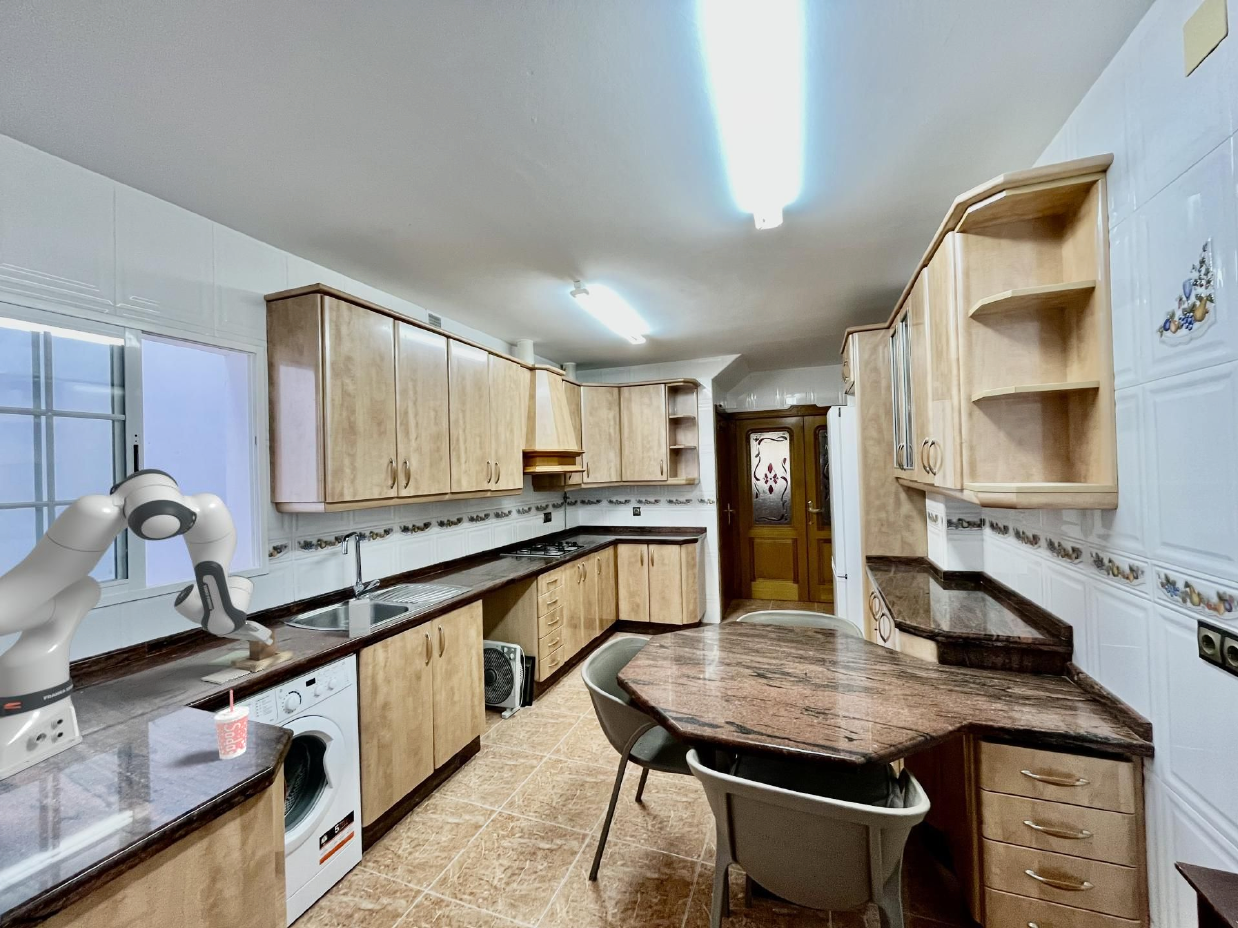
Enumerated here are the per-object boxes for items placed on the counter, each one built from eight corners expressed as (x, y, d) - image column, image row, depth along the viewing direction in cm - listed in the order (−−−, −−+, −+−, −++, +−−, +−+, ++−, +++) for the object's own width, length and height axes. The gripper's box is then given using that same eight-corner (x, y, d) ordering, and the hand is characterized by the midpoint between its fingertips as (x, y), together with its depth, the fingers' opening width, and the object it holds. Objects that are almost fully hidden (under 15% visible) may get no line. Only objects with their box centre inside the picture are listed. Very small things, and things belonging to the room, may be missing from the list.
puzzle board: (223, 685, 145) (223, 676, 145) (198, 680, 149) (198, 672, 149) (293, 658, 165) (292, 651, 165) (269, 655, 169) (269, 647, 169)
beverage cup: (209, 763, 104) (207, 698, 104) (223, 748, 110) (221, 686, 110) (242, 758, 106) (240, 693, 106) (255, 743, 112) (253, 682, 112)
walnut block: (259, 667, 158) (258, 633, 158) (249, 665, 160) (248, 632, 160) (275, 661, 163) (274, 628, 163) (265, 660, 165) (264, 627, 165)
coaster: (237, 665, 161) (237, 662, 161) (207, 665, 162) (207, 662, 162) (265, 652, 172) (265, 650, 172) (237, 652, 173) (237, 650, 173)
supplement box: (370, 634, 187) (369, 601, 187) (348, 638, 184) (347, 605, 184) (370, 629, 194) (369, 597, 194) (349, 633, 190) (348, 600, 190)
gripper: (255, 614, 150) (288, 635, 159) (214, 610, 157) (248, 630, 166) (240, 633, 146) (275, 653, 155) (198, 628, 153) (234, 648, 162)
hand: (260, 641), depth 161 cm, fingers open, 8 cm apart
